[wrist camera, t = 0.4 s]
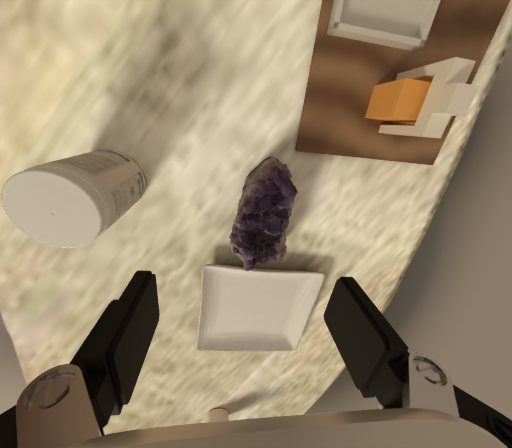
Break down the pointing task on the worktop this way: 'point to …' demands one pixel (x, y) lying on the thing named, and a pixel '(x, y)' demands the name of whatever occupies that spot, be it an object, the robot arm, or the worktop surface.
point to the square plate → (254, 308)
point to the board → (382, 71)
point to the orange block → (398, 100)
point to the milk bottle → (217, 415)
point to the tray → (384, 21)
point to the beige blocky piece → (438, 97)
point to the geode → (263, 214)
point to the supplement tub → (73, 197)
